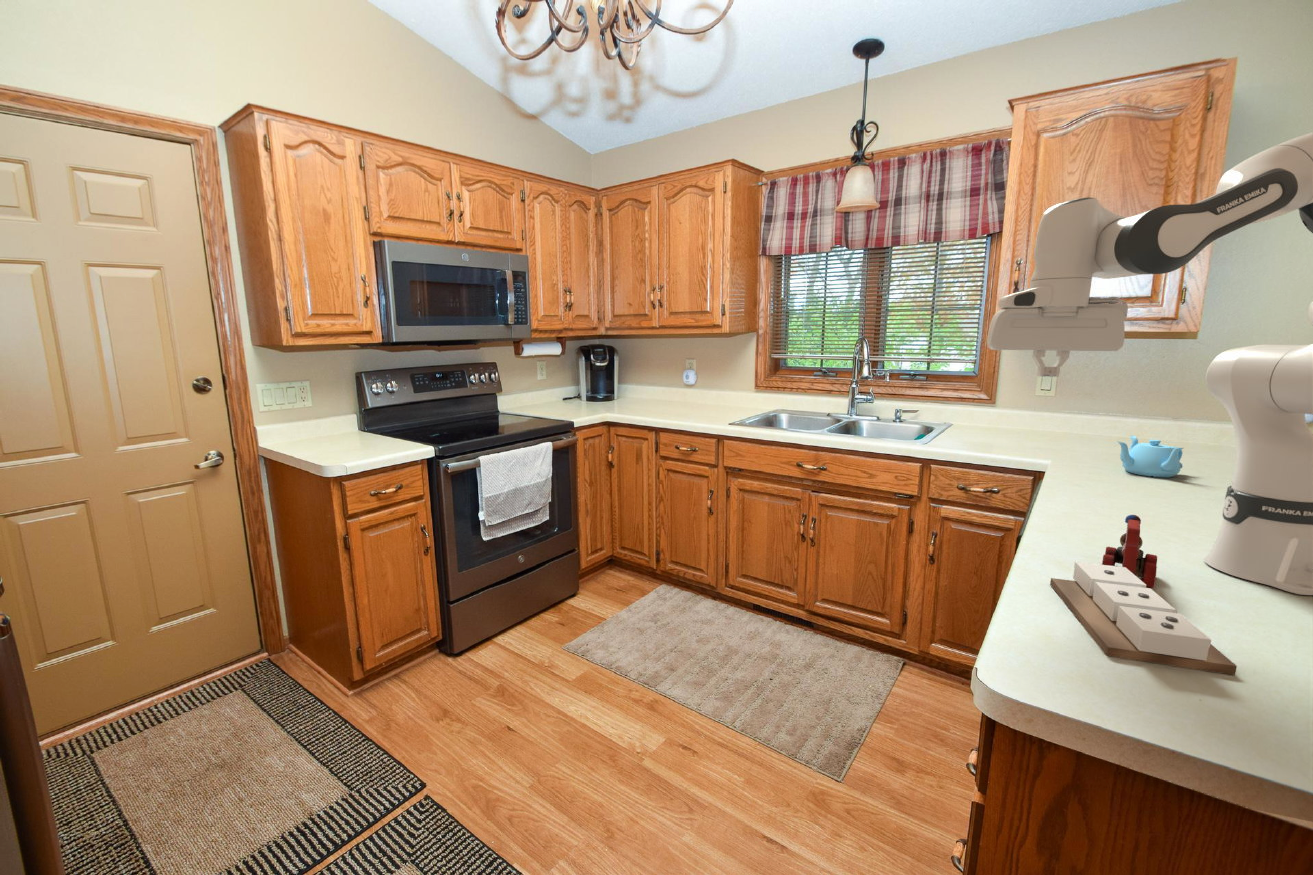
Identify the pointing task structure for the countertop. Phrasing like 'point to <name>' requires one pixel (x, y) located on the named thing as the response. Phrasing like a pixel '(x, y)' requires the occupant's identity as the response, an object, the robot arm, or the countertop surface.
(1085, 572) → the one-pip tile
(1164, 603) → the two-pip tile
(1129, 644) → the walnut board
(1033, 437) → the countertop surface
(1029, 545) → the countertop surface
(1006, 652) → the countertop surface
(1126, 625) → the three-pip tile
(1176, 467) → the teapot
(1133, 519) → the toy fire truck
